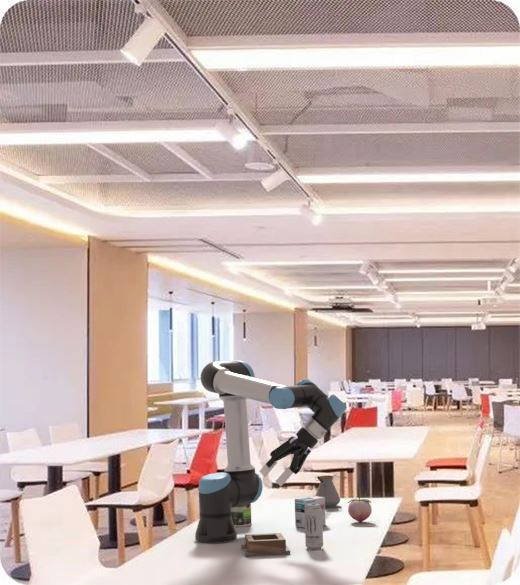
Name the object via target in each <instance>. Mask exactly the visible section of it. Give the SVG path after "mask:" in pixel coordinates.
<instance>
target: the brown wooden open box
mask: <svg viewBox="0 0 520 585" xmlns="http://www.w3.org/2000/svg"><path fill="white" fill-rule="evenodd" d="M286 541H287V539H286V538H285V537H284V536H283V534H282V533H281V532H273V533H252V534H244V543H241V544H240V545H241V546H240V548H241V550H242V552H243V554H244V555H245V557H246V558H248V557H249V558H251V557H252V558H253V557H268V556H269V557H270V556H283V555H284V556H285V555H287V556H288V555H291V550H290V549H289V547H288V546H287V542H286Z"/></svg>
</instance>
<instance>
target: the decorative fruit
mask: <svg viewBox="0 0 520 585" xmlns="http://www.w3.org/2000/svg"><path fill="white" fill-rule="evenodd" d="M347 504H348V509H347V511H348V512H347V513H348V515H349V516H350V517H351V519H353V520H354V521H356V522H358V523H363V522H364V521H366V520H367V519H369V518H370V516H371V514H372V511H373V510H372V506H371V504H372V501H371V500H369V499H367V498H362V499H361V497H360V496H358V498H356V499H355V498H354V499H351V500H349V501H348V502H347Z"/></svg>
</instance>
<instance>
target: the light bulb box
mask: <svg viewBox="0 0 520 585" xmlns="http://www.w3.org/2000/svg"><path fill="white" fill-rule="evenodd" d="M310 503H318V504H320V507H321V508H322V526H326V508H325V497H319V496H315V495H310V496H305V497H304V496H303V497H298V498H294V521H295V522H294V524H295V527H296V528H297V527H298V528H303V529H305V508H306V504H310Z"/></svg>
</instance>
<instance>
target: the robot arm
mask: <svg viewBox="0 0 520 585" xmlns="http://www.w3.org/2000/svg"><path fill="white" fill-rule="evenodd" d="M255 377H256V376H255V373H254V370H253V368H252V367H251V365H249V363H248V362H246V361H244V360H225V361H224V360H223V361H222V360H221V361H212V362H211V361H210V362H209V363H207V364H206V365H205V366H204V367H203V368H202V370H201V373H200V382H201V385H202V386H203V388H204V390H206V391H208V392H210V393H214V394H218V396H219V399H220V400H221V401H222V402H223V414H224V426H225V428H224V429H225V442H226V456H227V466H226V467H225V468H224V470H223V471H224V472H215V473H213V472H212V473H209V474H206V475H203V476H202V477H200V478H199V480H198V487H197V488H198V489H197V490H198V504H199V505H198V507H199V510H198V511H199V520H198V523H197V527H196V530H195V534H194V539H195V542H199V543H203V544H221V543H222V544H223V543H228V542H234V541H235V540H237V538H238V536H237V535H238V534H237V530H236V527H235V526H234V524H233V521H232V517H231V507H236V506H240V505H248V504H250V503H251V504H253V503H255V502H257V500H259V498H261V495H262V494H263V493H262V492H263V480H262V478H261V477H260V475H259V474H261V475H262V476H263V477H264V478H265V477H266V476H267V475H268V474H269V473H270V472H271V471H272V469H274V467H275V466H276V465H277V464H278V461H279V460H282V459H284V458H285V457H288V456H290V455H293V457H292V460H291V462H290V465H289V467H286V469H285V470H284V471H283V472H282V473H281V475H280V476H278V477H277V479H276V480H275V483H277V485H279V487H282V486H284V484H285V483H286V482H287V481H288V480H289V478H290V477H291V476H292V475H293V474H294V475H297V474H298V473H299V472H300V470H301V469H302V467H303V465H304V464H305V461H306V460H307V458H308V457H309V455H310V453H311V452H312V450H311V449H313V448H314V447H315V446H316V445H317V444H318V443H319V440H321V438H323V437H324V436H326V433H327V432H328V431H329V430H330V429H331V428H332V427H333V426H334V424H336V422H337V421H338V420H339V419H340V418H341V417H342V416H343V414H344V413H345V411H346V410H347V408H348V407H347V405H346V404H345V403H344V401H342V400H341V399H340V398H339V396H338V397H337V395H335V394H334V393H331V394H330V395H327V394H326V393H325V392H324V391H323V390H321V389H320V388H319V387H318V385H316V384H315V382H313V381H312V380H310V379H309V378H303V379H301V380H299V381H298V382H296V384H295V385H285V384H284V385H283V384H279V383H276V382H273V381H272V382H271V381H268V380H264V379H261V378H260V379H259V378H257V377H256V378H255ZM247 399H250V400H253V401H257V402H261V403H264V404H269V405H271V406H272V407H273V408H275V409H277V410H287V409H296V408H305V407H307V409H308V408H309V410H310V411H311V412H312V413H313V414H312V415H311V416H310V418H309V419H308V420H307V421H306V422H305V423H304V424H303V426H302V427H301V428H299V430H298V431H297V432H296V434H295V435H296V438H295V437H294V436H290V437H289V438H288V439H287V440H286V441H285V442H284V443H282V444H281V445H279V446H277V447H276V448H275V449H273V450H271V452H270V453H269V456H270V458H269V460H268V461H267V462H266V463H265V464H264V466H262V467H261V468H260V470H259V471H258V472H259V474H258V473H257V472H256V467H254V465H253V464H252V462H251V452H250V450H251V449H250V436H249V422H248V411H247V408H248V407H247Z"/></svg>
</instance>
